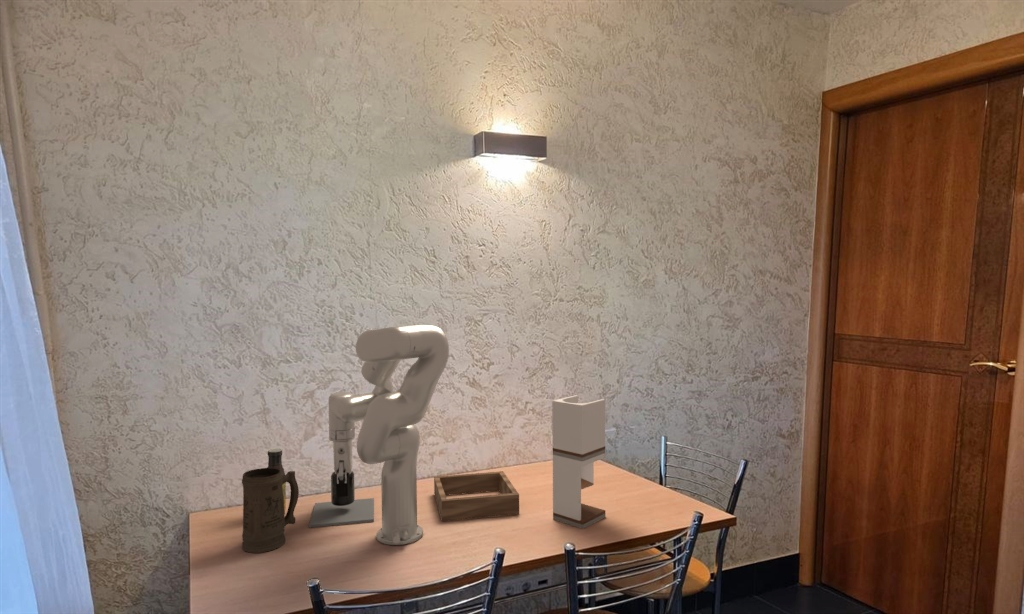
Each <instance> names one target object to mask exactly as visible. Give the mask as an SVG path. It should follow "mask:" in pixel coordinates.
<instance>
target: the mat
mask: <svg viewBox="0 0 1024 614" xmlns="http://www.w3.org/2000/svg"><path fill="white" fill-rule="evenodd" d="M374 519H375V498H374V497H372V498H370V497H369V498H360V499H355V500H354V502H353V503H351V504H349V505H345V506H336V505H333V504H332V502H331V501H326V502H315V503H314V507H313V511H312V514H311V517H310V521H309V526H308V527H309V529H310V528H311V527H314V528H321V527H320V526H325V527H333V526H332V525H335V526H341V525H340V524H346V525H353V524H352V523H357V524H366V523H365V522H367V523H374V522H375V521H374ZM350 523H351V524H350ZM311 529H312V528H311Z"/></svg>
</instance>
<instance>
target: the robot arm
mask: <svg viewBox="0 0 1024 614" xmlns="http://www.w3.org/2000/svg"><path fill="white" fill-rule="evenodd" d="M355 353H356V357H358V359H360V360H361V361H362V362H363V365H362V367H361V371H360V372H361V375H362V377H363V378H364V380H366V381H367V382H368V383H370V384H371V385H373V386H375V387H374V388H373V390H372V391H371V392H367V393H361V394H355V395H354V394H353V393H352V392H349V391H342V392H341V391H339V392H334V393H331V394H330V395H329V396H328V440H329V441H330V442H333V443H332V444H333V446H332V448H333V470H334V471H335V474H337V483H336V493H337V497H345V496H348V482H347V473H349V474H350V473H351V472H352V471H353V440H354V439H356V434H355V433H356V429H355V428H356V424H355V422H360V421H362V424H361V427H360V429H359V432H358V437H357V441H356V451H357V455H358V457H359V459H360V461H362V462H363V463H365V464H367V465H375V464H381V463H383V464H382V465H383V466H382V469H381V474H380V475H381V481H380V482H381V485H380V487H381V488H380V489H381V491H380V492H381V528H380V529H378V530H377V532H376V537H375V538H376V540H377V541H378V542H379V543H381V544H383V545H388V546H389V545H391V546H401V545H408V544H411V543H414V542H416V541H418V540H420V539H421V538H422V537H423V535H424V529H423V527H421V526H420V525H419V524H418V495H417V494H418V491H417V490H418V489H417V487H418V485H417V482H418V480H417V479H418V478H417V476H418V475H417V474H418V473H417V470H418V469H417V465H418V453H419V449H420V443H421V436H420V432H419V429H418V427H417V426H416V424H418V423H420V422H421V421H422V420H423V418H424V417H425V415H426V413H427V410H428V408H429V405H430V403H431V400H432V397H433V396H434V392H435V389H436V387H437V385H438V382H439V381H440V378H441V376H442V374H443V372H444V370H445V368H446V366H447V362H448V359H449V355H450V348H449V341H448V338H447V335H446V334H445V332H444V331H443V330H442V329H441V328H440V327H438V326H437V325H433V324H414V325H413V324H412V325H399V326H389V327H384V328H377V329H368V330H364V331H363V332H362V333H361V334H360V335H359V336H358V337H357V339H356V342H355ZM416 358H417V360H416V361H415V362H414V363H413V365H411V367H409V369H408V371H407V372H406V374H405V376H404V379H403V381H402V384H401V386H400V388H399V389H398V390H396V391H393V390H394V387H393V386H394V385H393V382H392V380H391V378H392V376H393V375H394V373H395V371H396V369H397V367H398V365H399V364H400V362H401V361H402V360H408V359H416ZM344 471H345V472H344ZM344 475H345V477H344Z"/></svg>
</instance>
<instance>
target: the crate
mask: <svg viewBox="0 0 1024 614" xmlns="http://www.w3.org/2000/svg"><path fill="white" fill-rule="evenodd" d="M433 479H434V480H433V482H434V483H433V485H434V486H433V488H434V489H433V490H434V491H433V493H434V494H435V495H434V498H436V499H435V502H436V501H437V502H436V505H438V506H437V508H439V509H438V513H439V512H440V513H439V515H440V519H442V520H441V522H449V521H448V520H453V521H460V520H461V521H463V520H472V519H482V518H483V519H485V518H494V517H501V516H502V517H505V516H512V515H513V516H514V515H520V493H519V492H518V491H517V489H516V488H515V486H514V485H513V484H512V482H511V480H510V479H509V478H508V476H507V475H506V473H505V472H504V471H491V472H480V473H479V472H476V473H465V474H454V475H453V474H451V475H439V476H438V475H437V476H433ZM497 490H500V491H499V492H500V494H499V493H497V494H488V495H485V494H484V495H476V496H465V497H452V498H447V496H450V495H449V494H457V495H463V494H462V493H468V494H475V493H474V492H480V493H486V491H492V492H498V491H497ZM462 519H463V520H462Z"/></svg>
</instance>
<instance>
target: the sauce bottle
mask: <svg viewBox="0 0 1024 614" xmlns="http://www.w3.org/2000/svg"><path fill="white" fill-rule="evenodd" d="M282 455H283V450H282V448H273V449H269V450H268V451H267V457H268V464H267V467H266V468H277V469H280V470H281V472H282V476H284V475H286V472H285V469H284V467H283V462H282ZM286 483H287V482H285V483H284V484H283V485H282V491H283V495H284V515H286V504H287V503H286V498H287V496H286V495H287V494H286V491H287V490H286V488H287V487H286Z"/></svg>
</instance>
